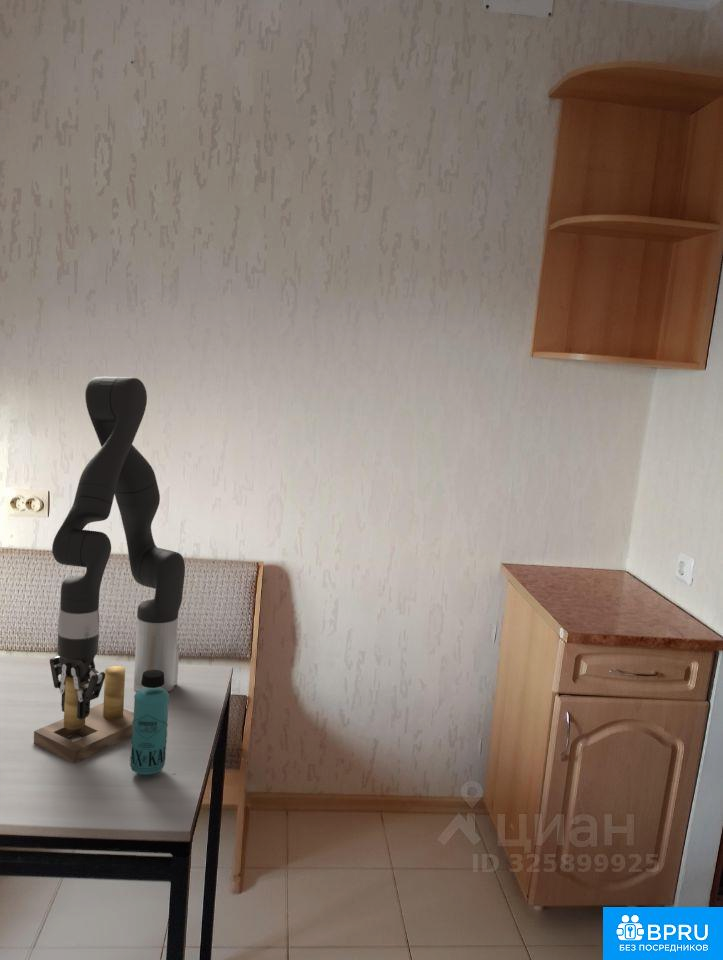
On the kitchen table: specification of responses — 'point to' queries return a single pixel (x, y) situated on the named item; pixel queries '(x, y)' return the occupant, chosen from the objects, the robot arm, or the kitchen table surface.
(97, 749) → the pin plate
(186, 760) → the kitchen table surface
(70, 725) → the pin
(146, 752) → the beverage bottle
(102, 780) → the kitchen table surface
